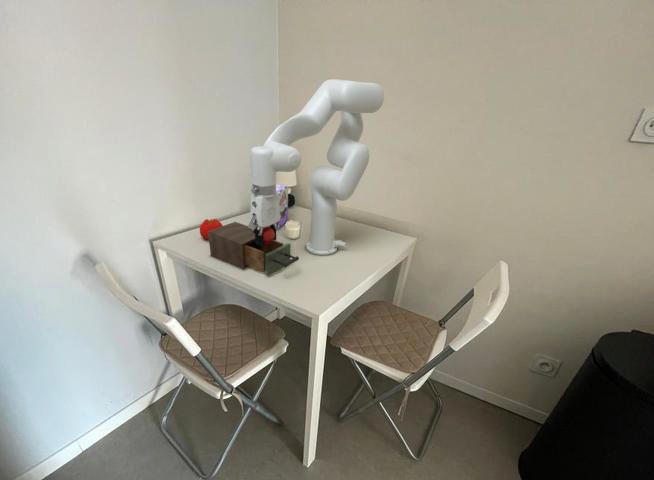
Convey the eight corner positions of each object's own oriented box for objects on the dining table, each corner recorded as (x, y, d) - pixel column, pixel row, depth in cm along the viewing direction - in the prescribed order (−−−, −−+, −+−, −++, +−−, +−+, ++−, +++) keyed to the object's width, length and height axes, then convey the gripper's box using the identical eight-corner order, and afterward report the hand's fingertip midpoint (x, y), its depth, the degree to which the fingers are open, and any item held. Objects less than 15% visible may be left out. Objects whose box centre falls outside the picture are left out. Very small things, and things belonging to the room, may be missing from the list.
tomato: (219, 233, 147) (218, 216, 143) (227, 240, 141) (225, 223, 137) (197, 236, 142) (195, 219, 138) (204, 244, 136) (201, 226, 132)
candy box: (277, 230, 153) (277, 193, 144) (265, 228, 155) (264, 191, 146) (288, 220, 165) (288, 185, 156) (276, 218, 166) (276, 183, 157)
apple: (275, 239, 121) (275, 220, 118) (274, 246, 116) (273, 227, 113) (258, 239, 121) (257, 220, 117) (256, 246, 116) (255, 226, 112)
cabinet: (268, 257, 130) (268, 232, 125) (243, 269, 121) (241, 244, 116) (236, 245, 138) (234, 221, 133) (210, 256, 128) (207, 231, 123)
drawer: (303, 268, 122) (303, 248, 118) (281, 281, 114) (281, 260, 109) (258, 251, 132) (257, 232, 127) (235, 262, 123) (233, 242, 119)
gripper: (254, 197, 101) (257, 253, 111) (290, 186, 113) (290, 237, 123) (235, 192, 104) (240, 247, 114) (272, 181, 116) (274, 232, 126)
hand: (266, 241), depth 118 cm, fingers closed on apple, 5 cm apart
